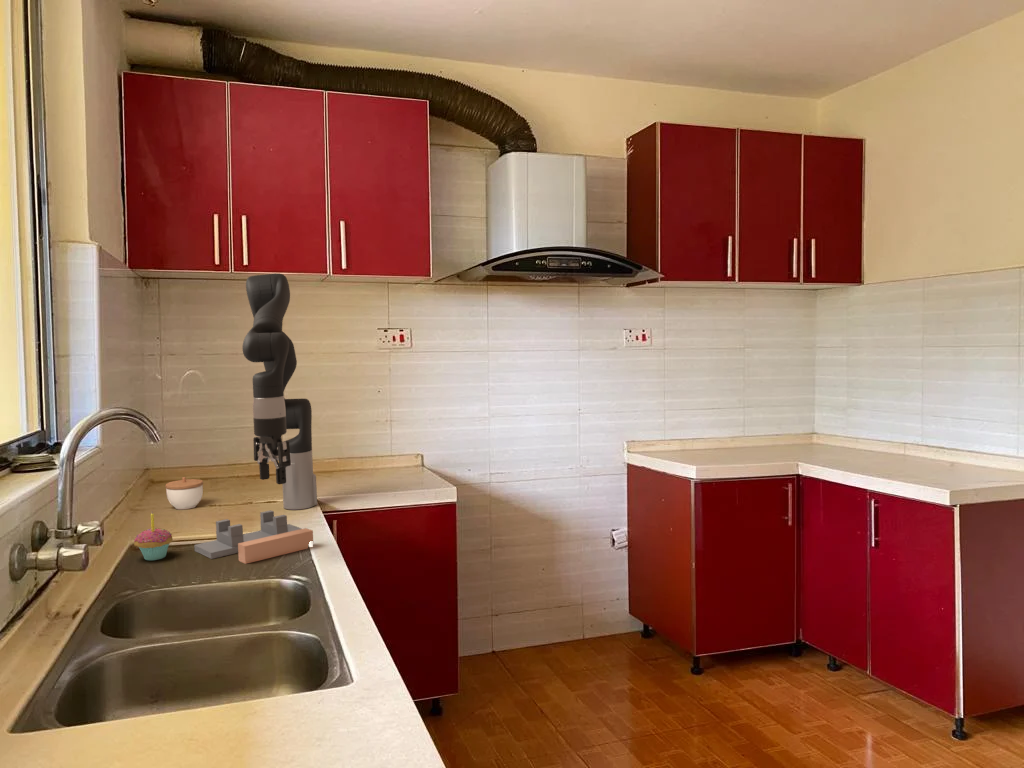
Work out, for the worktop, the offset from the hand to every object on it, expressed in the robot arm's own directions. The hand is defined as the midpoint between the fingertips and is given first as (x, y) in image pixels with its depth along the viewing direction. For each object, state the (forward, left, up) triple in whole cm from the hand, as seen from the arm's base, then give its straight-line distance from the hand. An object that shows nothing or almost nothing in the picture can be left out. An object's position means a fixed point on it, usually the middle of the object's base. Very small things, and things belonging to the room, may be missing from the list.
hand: (272, 481), depth 189 cm
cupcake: (+22, -20, -18) cm, 35 cm away
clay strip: (0, 0, -18) cm, 18 cm away
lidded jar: (-4, -67, -18) cm, 70 cm away
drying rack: (0, -13, -18) cm, 22 cm away
